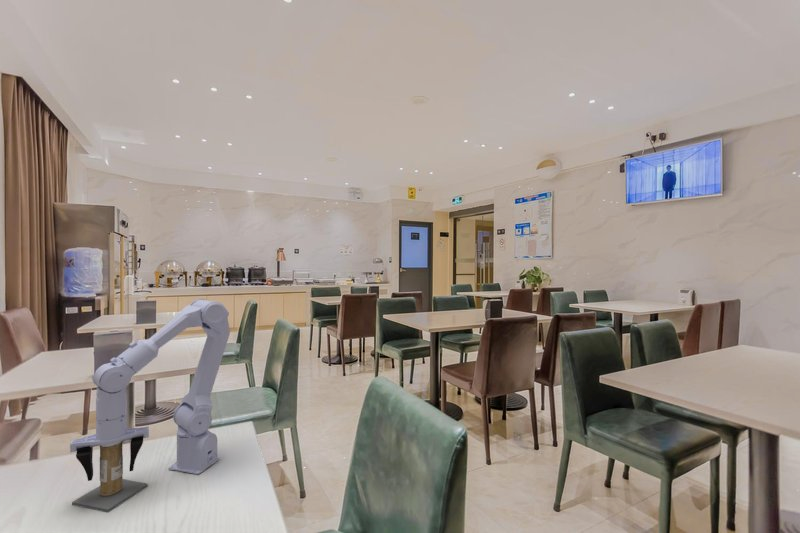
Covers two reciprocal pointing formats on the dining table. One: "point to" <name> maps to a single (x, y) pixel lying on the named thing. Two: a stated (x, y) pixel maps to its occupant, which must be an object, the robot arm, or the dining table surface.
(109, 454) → the sprinkles bottle
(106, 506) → the coaster
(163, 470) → the dining table surface
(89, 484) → the dining table surface
